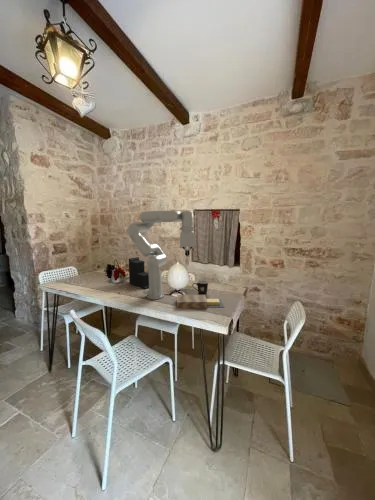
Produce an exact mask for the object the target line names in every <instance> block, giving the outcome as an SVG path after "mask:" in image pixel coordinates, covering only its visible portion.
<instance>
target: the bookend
mask: <svg viewBox="0 0 375 500" xmlns="http://www.w3.org/2000/svg"><path fill="white" fill-rule="evenodd" d="M128 278H129V280H128V283H129V284H130V285H132V286H135V287H138V288H141V289H143V290H147V289H148V290H149V273H148V272H146V271H145V261H144V260H140V257H139V256H137V257H129V258H128Z"/></svg>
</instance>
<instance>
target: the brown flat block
mask: <svg viewBox="0 0 375 500" xmlns="http://www.w3.org/2000/svg"><path fill="white" fill-rule="evenodd" d="M206 296H207V295H199V294H177V298H176V308H177V309H195V308H196V309H197V308H198V309H204V308H205V309H207V308H208V306H207V299H208V298H207V297H206Z"/></svg>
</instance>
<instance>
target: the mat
mask: <svg viewBox="0 0 375 500" xmlns="http://www.w3.org/2000/svg"><path fill="white" fill-rule="evenodd" d="M218 299H219V301H220V305H207V308H211V309H213V308H214V309H215V308H216V309H217V308H219V309H220V308H225V305H224V303H223V301H222V299H220V298H218Z"/></svg>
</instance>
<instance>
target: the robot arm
mask: <svg viewBox="0 0 375 500" xmlns="http://www.w3.org/2000/svg"><path fill="white" fill-rule="evenodd" d="M139 219H140V220H141V221H135V222H132V223H130V224H128V228H127V234H128V237H129V239H130V240H131V241H132V242H133V243H134V244H135V246H136V248H137V249H138V251H140V253H141V255H142V256H144V257H148V258H147V259H146V265H147V271H148V272H147V273H149V288H148V290H143V294H144V295H146V297H147V299H149V300H157V299H159V300H160V299H162V298H164V297H165V295H164V294H165V293H163V289H162V286H163V285H162V270H161V267H163V266H165V265H166V264H167V262H168V258H167V256H166V254H165V253H164V252H163V250H162V248H161V247H160V246H159V245H158V244H157V243H154V242H148V241H147V239H146V238H145V237H144V236H143V235H142V234H144V233H147V232H149V231H150V229H151V228H152V227H153V226H154V225H155V224H161V223H179V222H180V223H181V227H179V231H180V234H179V248H180V249H183V250H184V251H185V252H184V255H185V256H186V257H190V251H191V250H192V249H195V248H196V237H195V236H196V235H195V231H194V212H193V211H192V210H183V211H181V210H150V211H149V210H146V211H142V212H141V213H140V216H139ZM187 247H188V248H187Z"/></svg>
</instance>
